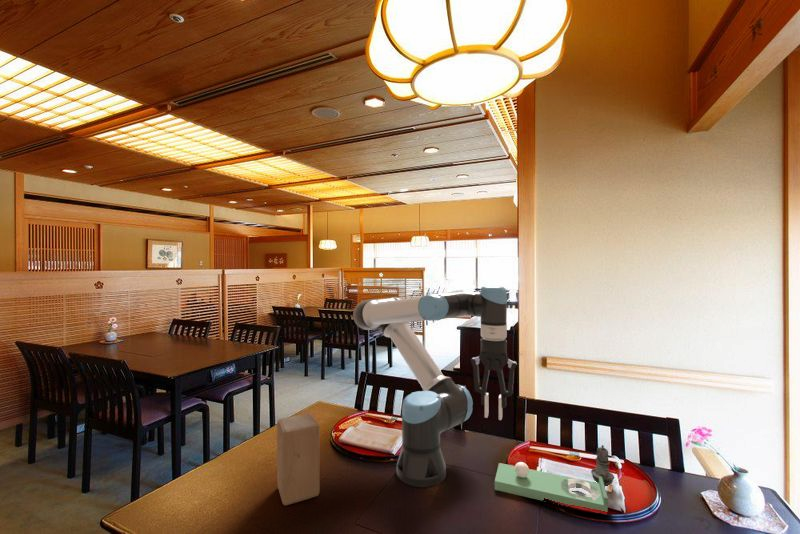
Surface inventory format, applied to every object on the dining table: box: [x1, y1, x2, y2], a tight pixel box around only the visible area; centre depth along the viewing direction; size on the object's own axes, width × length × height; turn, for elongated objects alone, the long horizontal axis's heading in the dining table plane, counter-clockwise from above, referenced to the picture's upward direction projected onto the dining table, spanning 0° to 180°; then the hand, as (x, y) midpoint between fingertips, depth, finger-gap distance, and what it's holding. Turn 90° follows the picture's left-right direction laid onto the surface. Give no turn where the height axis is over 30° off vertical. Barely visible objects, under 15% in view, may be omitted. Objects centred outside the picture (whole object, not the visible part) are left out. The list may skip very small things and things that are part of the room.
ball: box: [514, 461, 530, 478], centre depth 104 cm, size 4×4×4 cm
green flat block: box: [494, 462, 609, 513], centre depth 101 cm, size 28×10×4 cm, turn 68°
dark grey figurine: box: [590, 444, 615, 486], centre depth 103 cm, size 6×6×12 cm
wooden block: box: [276, 412, 321, 506], centre depth 101 cm, size 10×10×20 cm
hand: (493, 416), depth 107 cm, fingers open, 3 cm apart
